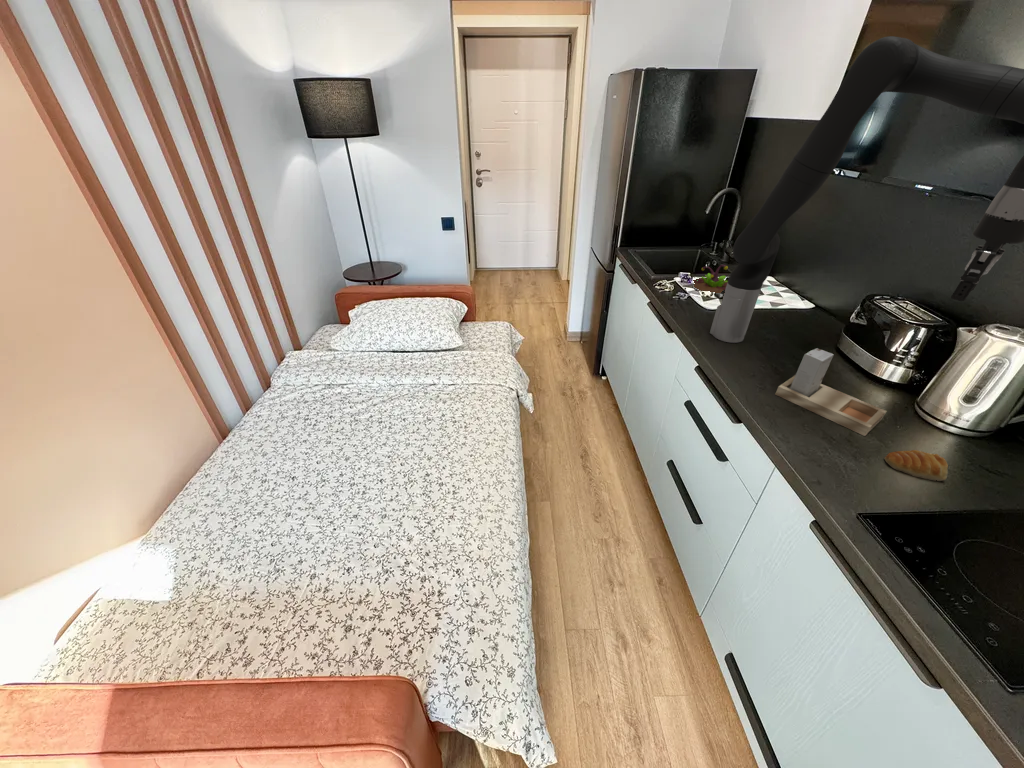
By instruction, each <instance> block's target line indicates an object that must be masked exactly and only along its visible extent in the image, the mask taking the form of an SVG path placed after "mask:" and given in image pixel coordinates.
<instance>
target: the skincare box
mask: <svg viewBox="0 0 1024 768" xmlns="http://www.w3.org/2000/svg"><path fill="white" fill-rule="evenodd" d="M834 356H835V354H833V353H832V352H828V351H826V350H823V349H820V348H818V347H817V348H814V349H812V350H810V351H808V352H807V353H804V355H803V357H802V360H801V362H800V364H799V366H798V368H797V371H796V373H795V374H794V376H795V378H794V380H793V382H792V385H791V387H790V389H791V390H794V391H796V392H798V393H800V394H803V395H805V396H807V397H811V396H812V395H813V394H815V393H816V392H817V390H818V388H819V386H820V384H822V382H823V381H824V380H823V379H824V378H825V375H826V373H827V370H828V369H829V366H830V364H831V363H832V362H831V361H832V359H833V358H834Z"/></svg>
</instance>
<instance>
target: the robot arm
mask: <svg viewBox="0 0 1024 768" xmlns="http://www.w3.org/2000/svg"><path fill="white" fill-rule="evenodd" d="M883 93H904V94H913V95H914V94H915V95H920V96H925V97H929V98H932V99H935V100H939V101H940V102H944V103H946V104H949V105H951V106H954V107H956V108H960V109H963V110H966V111H969V112H973V113H976V114H980V115H985V116H987V117H993V118H996V119H1002V120H1007V121H1014V122H1017V123H1019V124H1022V125H1024V68H1020V67H1014V66H1008V65H1003V64H997V63H987V62H981V61H980V62H979V61H970V60H964V59H958V58H954V57H951V56H946V55H943V54H940V53H937V52H934V51H931V50H929V49H927V48H925V47H923V46H920V45H918V44H916V43H915V42H913V40H911V39H909V38H906V37H900V36H894V35H893V36H892V35H891V36H890V35H888V36H884V37H881V38H878V39H876V40H875V41H873V42H871V43H870V44H869V45H867V46H866V47H865V48H864V49H863V50H862V51H861V52H860V53H859V55H857V57H856V59H855V60H854V62H853V63H852V65H851V66H850V68H849V70H848V71H847V74H846V75H845V77H844V79H843V81H842V83H841V85H840V87H838V89H837V91H836V93H835V95H834V96H833V99H832V100H831V102H830V104H829V105H828V107H827V109H826V111H825V112H824V113H823V114H822V116H821V117H820V119H819V121H818V122H817V123H816V125H815V126H814V127H813V129H812V130H811V132H810V133H809V134H808V136H807V138H806V139H805V141H804V142H803V144H802V145H801V147H800V148H799V150H797V152H796V153H795V155H794V157H792V160H791V161H790V162H789V164H788V165H787V167H786V169H785V170H784V172H783V173H782V175H781V176H780V178H779V179H778V181H777V183H776V184H775V186H774V187H773V189H772V190H771V191H770V193H769V195H768V196H767V198H766V199H765V201H764V203H763V204H762V206H761V207H760V209H758V211H757V213H756V214H755V215H754V217H753V218H752V219H751V220H750V221H749V223H748V224H747V225H746V227H745V228H744V229H743V230H742V231H741V233H739V235H738V237H737V238H736V240H735V241H734V244H733V247H732V255H733V258H734V260H735V262H736V263H738V264H737V266H736V267H735V268H734V269H733V270H732V271H731V272H730V274H729V276H728V279H727V281H728V282H727V286H726V289H725V293H724V296H723V299H722V301H721V303H720V304H719V305H717V307H716V310H715V313H714V316H713V320H712V324H711V327H710V332H709V334H711V335H712V336H713V337H714V338H715V339H718V340H719V341H721V342H725V343H726V342H727V343H732V344H733V343H734V344H735V343H741V342H743V341H744V339H745V337H746V334H747V330H748V329H749V324H750V321H751V319H752V315H753V312H754V311H755V307H756V304H757V303H758V299H759V296H760V293H761V290H762V287H763V284H764V282H765V281H766V279H767V278H768V277H769V275H770V272H771V270H772V267H773V265H774V263H775V261H776V258H777V255H778V252H779V249H780V242H781V239H780V236H779V234H778V232H779V231H780V229H781V228H782V227H783V225H784V224H785V223H786V222H787V221H788V220H789V219H790V218H791V217H792V216H793V215H794V214H796V213H797V211H799V209H801V208H802V207H803V206H805V204H806V203H807V202H808V201H809V200H810V199H811V198H813V197H814V195H816V193H817V192H818V191H819V189H820V188H821V187H822V186H823V185H824V184H825V182H826V181H827V180H828V179H829V177H830V176H831V174H832V173H833V171H834V170H835V169H836V167H837V165H838V164H839V162H840V161H841V158H842V157H843V155H844V153H845V150H846V148H847V146H848V144H849V141H850V139H851V137H852V135H853V133H854V130H855V128H857V127H856V126H858V124H859V123H860V121H861V120H862V118H863V117H864V116H865V114H866V113H867V111H868V110H869V109H870V108H871V107H872V105H873V104H874V103H875V101H877V99H878V97H879V96H880V95H881V94H883ZM972 236H974V238H977V239H979V240H984V241H985V244H983V245H978V246H977V247H976V248H975V249H974V251H973V252H972V254H971V258H970V259H969V261H968V263H967V264H966V265H965V267H964V273H963V274H962V275H961V276H960V282H959V283H958V285H957V286H956V288H955V289H954V291H953V293H952V295H951V296H950V298H951V299H952V300H955V301H960V302H964V301H966V300H967V298H968V297H969V295H970V294H971V292H972V291H973V290H975V288H976V287H977V285H978V284H979V282H980V281H981V279H982V277H983V276H984V275H987V274H988V273H989V272H990V271H991V269H992V268H993V267H994V266H995V264H996V263H997V262H998V261H999V260H1000V259H1001V258H1002V256H1003V254H1004V253H1005V252H1006V249H1003V248H1004V246H1005V245H1006V244H1010V245H1019V244H1023V243H1024V155H1023V156H1022V157H1021V158H1020V160H1019V161H1018V162H1017V163H1016V165H1015V167H1014V168H1013V170H1012V171H1011V173H1010V175H1009V176H1008V178H1007V180H1006V181H1005V183H1004V185H1003V186H1002V187H1001V189H1000V190H999V191H998V192H997V194H996V195H995V197H994V198H993V199H992V201H991V202H990V203H989V206H988V208H987V209H986V210H985V212H984V214H983V216H982V217H981V219H980V221H979V222H978V224H977V226H976V228H975V229H974V230H973V232H972Z"/></svg>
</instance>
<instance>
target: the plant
mask: <svg viewBox="0 0 1024 768" xmlns="http://www.w3.org/2000/svg"><path fill="white" fill-rule="evenodd" d="M722 267H723V270H725V271H727V270H728V268H729V267H728V265H726V264H721V265H719V266H718V267H717V268H716V270H715V272H714V270H713V269H712V268H711V267H710V266H703V267H701V271H702V272H703V271H705V270H706V269H708V270H709V271H710V272H708V273H707V274H704V275H705V276H701V277H698V278H699V279H696V280H693V281H694V283H695V284H694V287H695V288H697V289H699V290H701V291H702V290H703V291H710V292H715V293H721V292H722V291H723V290H725V289H726V286H727V282H728V280H727V279H726V278H727V276H726V275H721V276H719V273H720V269H721V268H722ZM725 279H726V280H725ZM697 280H698V281H697Z"/></svg>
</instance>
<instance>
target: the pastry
mask: <svg viewBox="0 0 1024 768" xmlns="http://www.w3.org/2000/svg"><path fill="white" fill-rule="evenodd" d="M884 461H885V462H886V463H887V464H888V465H889V466H890V467H891V468H892V469H894V470H897V471H900V472H903V473H904V474H906V475H910V476H912V477H915V478H916V477H918V478H920V479H921V478H922V479H925V480H931V481H934V482H936V480H937V482H941V481H942V482H943V481H945V480H946V479H947V478H948V472H949V471H948V469H949V465H948V462H947V460H946V459H945V458H944V457H943V456H940V455H939V454H938V453H935V454H934V453H930V452H929V453H928V452H925V451H921V450H917V449H912V450H899V451H895V450H894V451H893V452H892V451H891V452H889V453H887V455H886V456H884Z"/></svg>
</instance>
